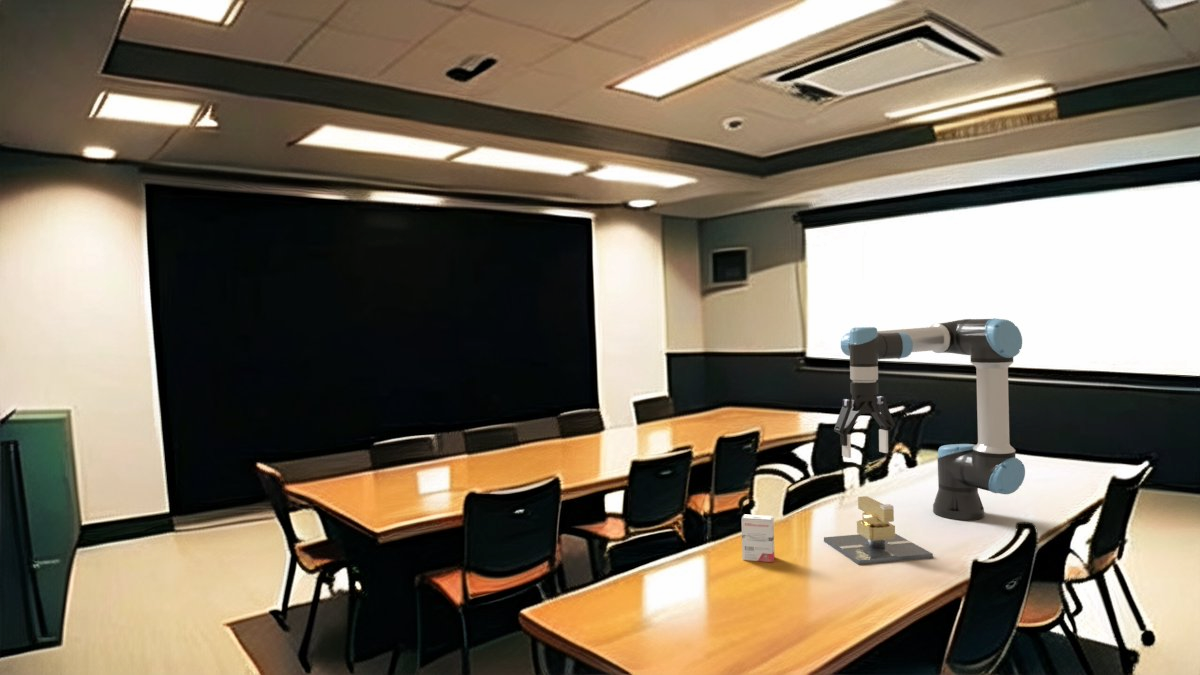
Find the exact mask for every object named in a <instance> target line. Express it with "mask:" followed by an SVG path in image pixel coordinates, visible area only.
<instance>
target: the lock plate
mask: <svg viewBox="0 0 1200 675" xmlns="http://www.w3.org/2000/svg"><path fill="white" fill-rule="evenodd" d="M870 527H871V526H870ZM823 542H824V543H825V544H828V545H829V546H830V547H832V548H833V549H834V550H836V551H838V552H839V553H840V554H842V555H843V556H845V557H847V558H848V559H849V560H851V561H852V562H854V563H855V564H857V565H858V566H860V565H871V564H880V563H883V564H884V563H889V562H892V563H893V562H894V563H895V562H903V561H904V562H905V561H916V560H925V559H933V558H934V553H933V552H930V551H929V550H927V549H925V548H923V547H921V546H919V545H918V544H916V543H913V541H910V540H908V539H906V538H904V537H903V536H900V534H897V533H895V538H893V539H887V540H875V541H874V540H868V539H866V538H865V537H863V536H861V535H860V534H858V533H857V534H847V535H846V534H845V535H837V536H836V535H835V536H824V537H823Z"/></svg>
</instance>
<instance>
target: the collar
mask: <svg viewBox="0 0 1200 675" xmlns="http://www.w3.org/2000/svg"><path fill="white" fill-rule="evenodd" d="M857 508H858V510H860V511H862V514H861V515H862V519H860V520H856V533H857V535H858V534H860V535H861V536H863V537H865V538H866V539H868V540H874V541H875V540H887V539H893V538H895V534H896V525H894V524H892V523H890V522H894V521H895V520H894V519H895V516H894V514H895V513H894V512H895V511H894V505H891V504H888V503H887V504H886V503H885V504H884V503H882V502H880V501H878V500H875V499H873V498H871V497H869V496H867V495H865V496H857ZM870 526H871V527H870Z"/></svg>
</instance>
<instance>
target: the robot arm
mask: <svg viewBox="0 0 1200 675" xmlns="http://www.w3.org/2000/svg"><path fill="white" fill-rule="evenodd" d="M1022 347H1023V336H1022V332H1021V331H1020V329H1019V327H1018V326H1017V325H1016V324H1015V322H1013V321H1011V320H1008V319H1006V318H1005V319H1003V318H982V319H981V318H976V319H975V318H974V319H973V318H967V319H966V318H965V319H958V320H952V321H946V322H942V323H941V322H940V323H933V324H931V325H930V326H929V327H928V326H927V327H917V328H916V327H915V328H914V327H913V328H902V329H889V330H878V328H877V327H874V326H873V327H872V326H868V327H867V326H865V327H864V326H863V327H861V326H860V327H859V326H857V327H852V328H851V329H850V330H849V332H847V333H845V334H844V335H843V336H842V338H841V339H840V349H841V351H842V353H843V354H844V355H846V356H848V357H849V372H850V373H849V379H850V380H851V381H850V382H849V385H850V386H849V387H850V392H849V393H850V395H851V396H852V397H851V399H849V398H848V399H847V398H843V399H842V405H841V409H840V412H839V414H838V417H837V420H836V422H835V426H834V428H833V431H834V432H835V433H837V434H839V435H840V436H839V437H840V438H839V440H840V442H839V443H840V445H841V456H842V457H844V458H848V459H851V458H852V455H851V454H852V446H851V445H852V443H851V436H852V435H851V434H849V433H850V431H851V429H852V428H853V426H854V425H855V423H856V422H857V420H858V418H859V417H861V415H865V414H870V415H871V416H872V417H873V419H874V420H875V422H876V423H877V424H878V426H879V429H878V451H879V452H880V453H883V454H889V440H890V431H892V430H893V428H895V427H896V423H895V420H894V419H893V416H892V413H891V411H890V409H889V407H888V404H887V397H886V396H883V395H882V396H881V395H878V394H879V382H878V380H879V360H889V359H890V360H891V359H898V360H900V359H904V358H907V357H909V356H911V353H918V352H934V353H936V354H941V353H943V354H957V355H963V356H970V363H971V365H973V366H974V367H975V369H976V370H975V371H976V411H977V417H976V418H977V444H973V443H959V444H958V443H956V444H952V443H951V444H944V445H941V446H939V448H938V450H937V457H936V458H937V480H938V482H937V483H938V491H937V493H936V496H935V499H934V501H933V504H932V512H933V513H934V514H935V515H937V516H940V517H942V518H947V519H951V520H959V521H960V520H961V521H972V520H973V521H976V520H981V519H983V518H984V517H985V508H984V506H983V503H982V500H981V497H980V494H979V489H980V490H984V491H988V492H990V493H993V494H1000V495H1010V494H1014V493H1015V492H1016V491H1017V490H1019V489H1020V486H1022V485H1023V483H1024V479H1025V476H1026V468H1025V465H1024V463H1023V461H1022V460H1021V459H1019V458H1017V457H1016V449H1015V448H1014V447H1013V446H1012V445H1011V444H1010V413H1009V412H1010V406H1009V405H1010V404H1009V367H1010V366H1011V365H1013V363H1014V357H1016V356H1017V355H1018V354H1020V352H1021V349H1022Z"/></svg>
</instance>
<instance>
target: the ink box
mask: <svg viewBox="0 0 1200 675" xmlns="http://www.w3.org/2000/svg"><path fill="white" fill-rule="evenodd" d="M774 520H775V519H774V515H760V514H745V513H744V514H743V515H742V516H741V545H742V546H741V549H742V550H741V554H742V556H741V557H742V561H749V562H750V561H751V562H752V561H753V562H766V563H767V562H768V563H774V560H775V527H774V526H775V525H774V524H775V523H774Z"/></svg>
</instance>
